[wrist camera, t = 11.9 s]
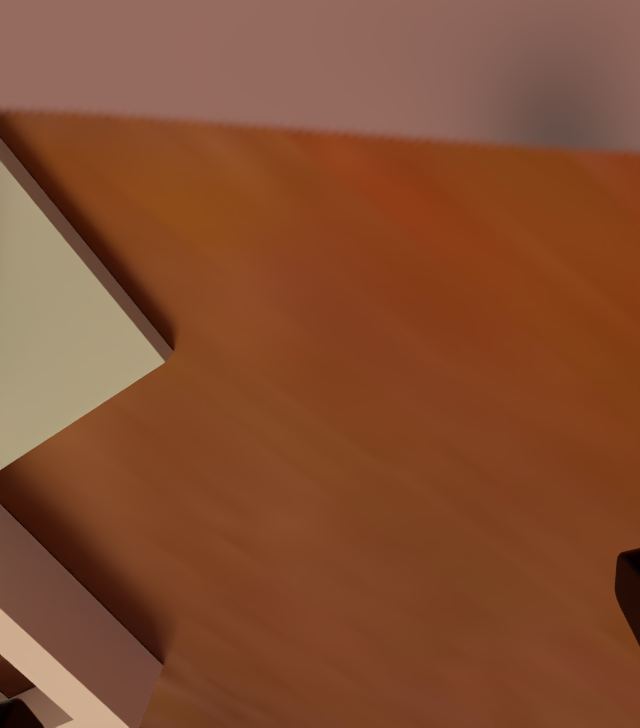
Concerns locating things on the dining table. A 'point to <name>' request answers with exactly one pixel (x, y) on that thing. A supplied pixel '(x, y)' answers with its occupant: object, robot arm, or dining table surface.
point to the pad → (58, 320)
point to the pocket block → (67, 642)
